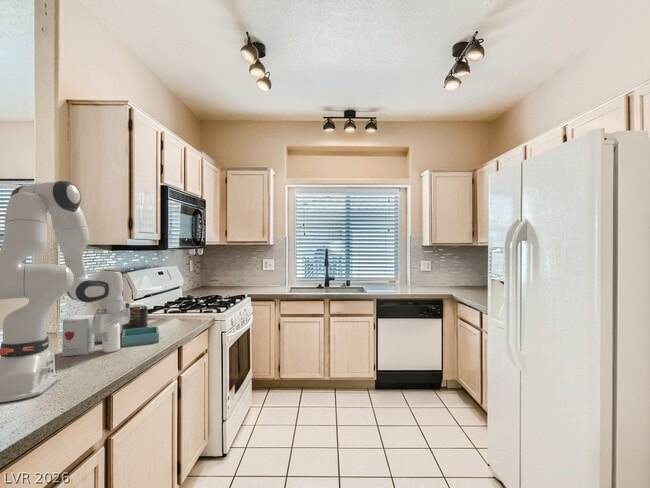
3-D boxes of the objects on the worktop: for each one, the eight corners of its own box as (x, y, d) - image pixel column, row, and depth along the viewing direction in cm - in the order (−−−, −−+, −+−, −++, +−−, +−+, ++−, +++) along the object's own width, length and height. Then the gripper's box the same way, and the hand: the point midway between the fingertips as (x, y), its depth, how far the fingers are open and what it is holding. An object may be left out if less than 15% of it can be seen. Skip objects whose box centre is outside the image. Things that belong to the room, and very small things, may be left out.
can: (111, 353, 146) (111, 324, 145) (98, 352, 147) (98, 323, 147) (123, 348, 152) (123, 321, 152) (111, 347, 153) (110, 320, 153)
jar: (146, 334, 177) (146, 304, 177) (120, 336, 172) (120, 306, 172) (148, 328, 188) (148, 300, 188) (123, 330, 183) (124, 302, 183)
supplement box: (61, 356, 141) (61, 319, 141) (71, 350, 150) (71, 315, 150) (86, 354, 144) (87, 318, 144) (95, 348, 152) (95, 314, 152)
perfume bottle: (112, 338, 168) (112, 313, 168) (110, 344, 159) (110, 317, 159) (94, 340, 164) (94, 315, 164) (90, 346, 156) (90, 319, 156)
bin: (158, 342, 162) (158, 333, 162) (121, 346, 155) (121, 337, 155) (158, 334, 175) (158, 326, 175) (123, 338, 169) (123, 329, 169)
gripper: (102, 312, 139) (102, 346, 139) (132, 302, 160) (132, 332, 160) (86, 311, 140) (87, 346, 140) (119, 302, 160) (119, 332, 160)
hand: (111, 339), depth 150 cm, fingers open, 5 cm apart
